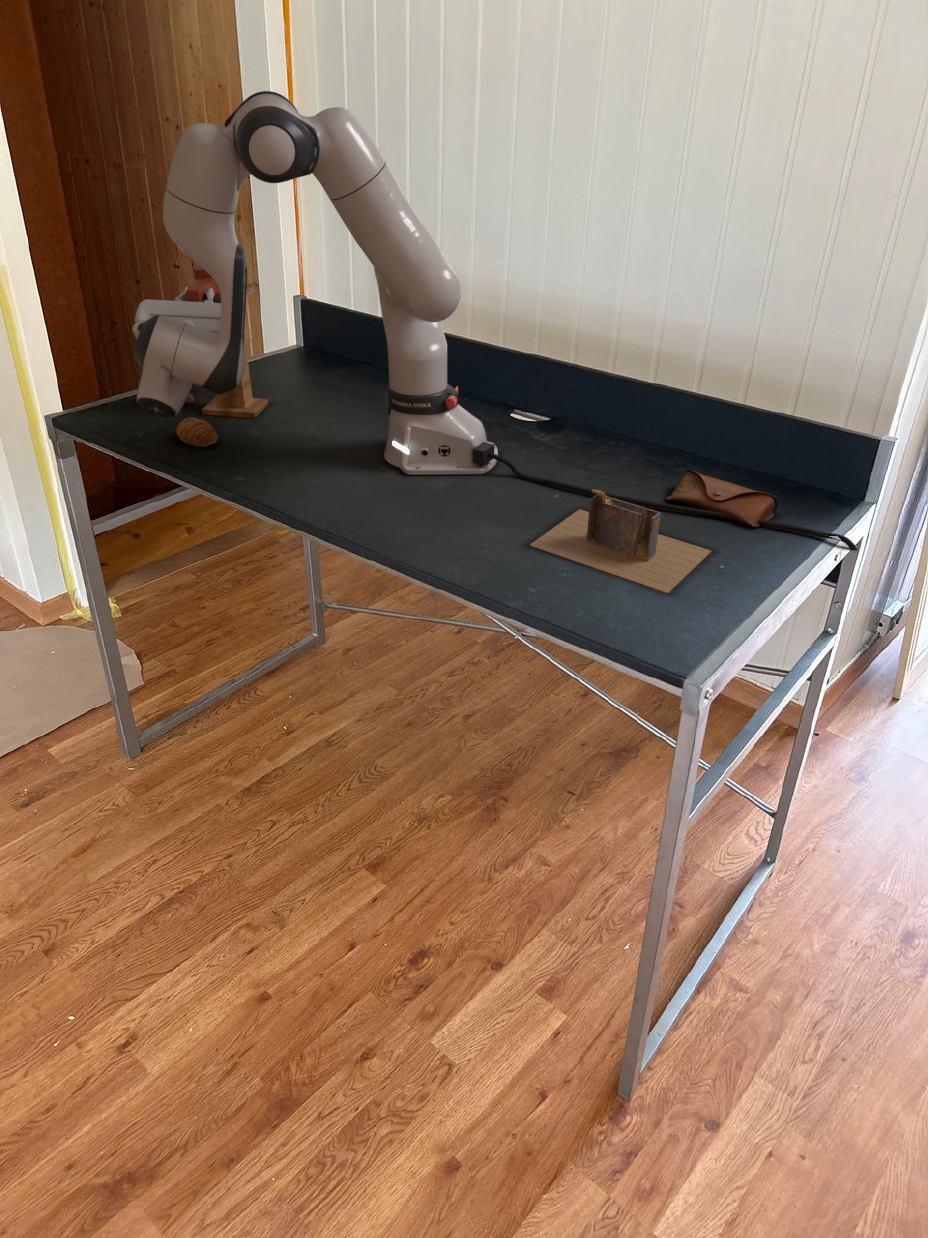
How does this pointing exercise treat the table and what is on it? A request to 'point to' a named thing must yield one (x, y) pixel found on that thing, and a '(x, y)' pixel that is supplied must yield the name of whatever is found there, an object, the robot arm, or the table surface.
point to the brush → (201, 285)
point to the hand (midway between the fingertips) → (200, 289)
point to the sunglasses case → (724, 498)
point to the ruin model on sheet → (623, 543)
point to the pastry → (196, 432)
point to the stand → (240, 397)
